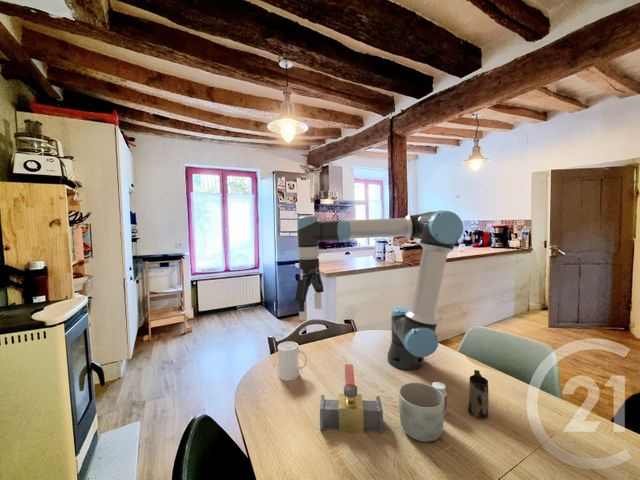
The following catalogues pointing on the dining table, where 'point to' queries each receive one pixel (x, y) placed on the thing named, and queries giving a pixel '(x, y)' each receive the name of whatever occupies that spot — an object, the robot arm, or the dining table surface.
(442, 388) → the pill bottle
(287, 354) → the mug
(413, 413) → the planter
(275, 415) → the dining table surface
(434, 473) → the dining table surface
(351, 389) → the lever
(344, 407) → the valve
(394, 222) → the robot arm
